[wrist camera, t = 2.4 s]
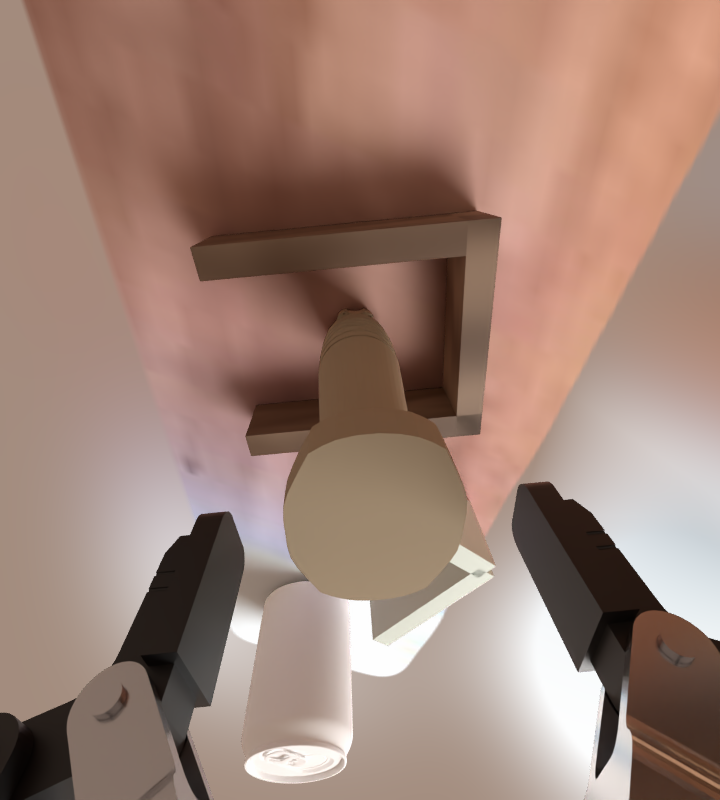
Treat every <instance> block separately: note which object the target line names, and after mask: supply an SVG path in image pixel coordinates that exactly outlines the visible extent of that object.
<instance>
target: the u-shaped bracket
mask: <svg viewBox="0 0 720 800" xmlns="http://www.w3.org/2000/svg"><path fill="white" fill-rule="evenodd" d="M500 228H501V217H497V216H494V215H490V214H487V213H483V212H479V211H471V212H461V213H450V214H440V215H429V216H419V217H408V218H398V219H387V220H377V221H366V222H356V223H345V224H335V225H324V226H314V227H303V228H293V229H282V230H272V231H261V232H251V233H240V234H230V235H219V236H212V237H210V238H208V239H206V240H204V241H202V242H200V243H198V244H196V245H194V246H192V247H190V249H191V252H192V256H193V259H194V262H195V266H196V269H197V273H198V276H199V279H200V281H209V280H219V279H230V278H240V277H251V276H261V275H272V274H282V273H293V272H303V271H314V270H324V269H334V268H345V267H355V266H366V265H376V264H387V263H397V262H408V261H418V260H429V259H439V258H447V278H446V306H445V335H444V364H443V387H441V388H431V389H421V390H410V391H404V394H405V400H406V405H407V410H408V411H410V412H413V413H415V414H417V415H420V416H422V417H424V418H426V419H428V420H430V421H431V422H433V423H435V424H436V426H437V427H438V429H439V431H440V433H441V435H442V437H443V438H446V437H456V436H467V435H477V434H480V429H481V419H482V409H483V399H484V389H485V379H486V369H487V359H488V349H489V339H490V329H491V319H492V309H493V299H494V288H495V278H496V268H497V258H498V248H499V238H500ZM319 422H320V415H319V399H316V400H305V401H295V402H285V403H274V404H264V405H256V408H255V411H254V413H253V416H252V419H251V422H250V425H249V428H248V431H247V433H246V440H247V443H248V447H249V450H250V453H251V456H257V455H268V454H278V453H289V452H299V450H300V448H301V446H302V444H303V442H304V440H305V439H306V437H307V435H308V433H309V431H310V430H311V428H312V427H313V426H314V425H316V424H318V423H319Z"/></svg>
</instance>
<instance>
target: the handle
mask: <svg viewBox="0 0 720 800" xmlns="http://www.w3.org/2000/svg"><path fill="white" fill-rule="evenodd" d="M318 381H319V415H320V422H319V423H318V424H316V425H314V426H313V427H312V428H311V430H310V431H309V433H308V435H307V437H306V439H305V440H304V442H303V444H302V446H301V448H300V450H299V453H298V455H297V457H296V460H295V462H294V464H293V467H292V469H291V472H290V474H289V477H288V480H287V485H286V491H285V499H284V506H283V521H284V528H285V535H286V541H287V547H288V550H289V553H290V557H291V559H292V560H293V562H294V563H295V565H296V566H297V568H298V569H299V570H300V571H301V572H302V573H303V574H304V576H305V577H306V578H307V579H308V580H309V581H310V582H311V583H312V584H313V585H314V586H315V587H316V588H317V589H318V590H319V591H320V593H323V594H326V595H329V596H333V597H337V598H341V599H349V600H382V599H391V598H396V597H401V596H406V595H409V594H412V593H415V592H417V591H420V590H422V589H424V588H427V587H428V586H429V584H430V583H431V582H432V581H433V580H434V579H435V578H436V577H437V576H438V575H439V574H440V572H441V571H442V570H443V569H444V568H445V567H446V566H447V564H448V563H449V562H450V561H451V559H452V558H453V556H454V555H455V553H456V552H457V550H458V547H459V545H460V542H461V539H462V534H463V529H464V524H465V519H466V514H467V497H466V493H465V489H464V486H463V483H462V481H461V478H460V476H459V473H458V471H457V469H456V466H455V464H454V462H453V459H452V457H451V455H450V452H449V450H448V448H447V446H446V444H445V442H444V439H443V437H442V435H441V433H440V431H439V429H438V427H437V426H436V424H435V423H433V422H431V421H430V420H428V419H426V418H424V417H422V416H420V415H417V414H415V413H413V412H410V411H408V410H407V405H406V400H405V394H404V389H403V383H402V377H401V372H400V367H399V363H398V360H397V357H396V354H395V351H394V348H393V346H392V343H391V341H390V339H389V337H388V335H387V334H386V332H385V331H384V329H383V328H382V327H381V325H380V324H379V323H378V322H377V321H376V320H374V319H373V315H372V313H371V312H370V311H369V310H367V309H364V308H363V309H362V310H358V311H351V310H348V309H343V310H342V311H340V312H339V314H338V318H337V320H336V322H334V324H333V325H332V326H331V328H329V330H328V332H327V335H326V337H325V340H324V343H323V347H322V351H321V356H320V364H319V372H318Z"/></svg>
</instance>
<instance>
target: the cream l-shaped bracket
mask: <svg viewBox="0 0 720 800" xmlns="http://www.w3.org/2000/svg"><path fill="white" fill-rule="evenodd" d="M494 567H496V565H495V563H494V560H493V558H492V555H491V553H490V550H489V548H488V545H487V543H486V540H485V538H484V535H483V533H482V530H481V528H480V525H479V523H478V520H477V518H476V515H475V513H474V510H473V508H472V505H471V503H470V501H469V500H467V514H466V519H465V524H464V529H463V534H462V539H461V542H460V545H459V547H458V550H457V552H456V553H455V555H454V556H453V558H452V559H451V561H450V562H449V563H448V564H447V566H446V567H445V568H444V569H443V570H442V571H441V572H440V574H439V575H438V576H437V577H436V578H435V579H434V580H433V581H432V582H431V583H430V584H429V586H428V587H427V588H424V589H422V590H420V591H417V592H415V593H412V594H409V595H406V596H401V597H396V598H391V599H382V600H370V607H371V620H372V633H373V640H375V641H378V642H380V643H382V644H385V645H387V646H388V645H390V644H391V643H393V642H394V641H396V640H398V639H399V638H401V637H402V636H404V635H405V634H407V633H408V632H410V631H411V630H413V629H415V628H416V627H418V626H419V625H421V624H422V623H424V622H425V621H427V620H428V619H430V618H431V617H433V616H435V615H436V614H438V613H439V612H441V611H442V610H444V609H445V608H447V607H448V606H450V605H451V604H453V603H454V602H456V601H458V600H459V599H461V598H462V597H464V596H465V595H467V594H468V593H470V592H472V591H473V590H474V589H476V588H478V587H479V586H481V585H482V584H484V583H485V582H487V581H488V580H490V579H491V578H493V577H494V575H493V572H492V569H493V568H494Z"/></svg>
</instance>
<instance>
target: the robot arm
mask: <svg viewBox="0 0 720 800" xmlns="http://www.w3.org/2000/svg"><path fill="white" fill-rule="evenodd" d="M512 531H513V536H514V540H515V543H516V545H517V547H518V550H519V552H520V553H521V556H522V558H523V560H524V562H525V564H526V566H527V568H528V570H529V572H530V574H531V576H532V578H533V580H534V582H535V584H536V587H537V589H538V591H539V593H540V595H541V597H542V599H543V601H544V603H545V605H546V607H547V609H548V611H549V613H550V615H551V617H552V619H553V622H554V624H555V626H556V628H557V630H558V632H559V634H560V636H561V638H562V640H563V642H564V644H565V646H566V648H567V650H568V652H569V654H570V656H571V658H572V661H573V663H574V665H575V667H576V669H577V671H578V672H587V671H596V673H597V675H598V677H599V679H600V680H601V682H602V684H603V686H602V688H601V694H600V702H599V708H598V717H597V725H596V731H595V740H594V747H593V754H592V762H591V770H590V777H589V782H588V787H587V791H586V795H585V798H584V800H720V641H718V640H714V639H711V638H708V637H707V636H706V635H705V634H704V633H703V632H702V631H700V630H699V629H698V628H697V627H695V626H694V625H693V624H691V623H690V622H688V621H686V620H684V619H683V618H681V617H679V616H676V615H674V614H671V613H668V612H667V611H666V610H665V609H664V608H663V606H662V605H661V604H660V603H659V601H658V600H657V599H656V598H655V596H654V595H653V594H652V592H651V591H650V590H649V588H648V587H647V586H646V585H645V583H644V582H643V580H642V579H641V578H640V576H639V575H638V574H637V572H636V571H635V570H634V569H633V567H632V566H631V565H630V563H629V562H628V561H627V559H626V558H625V557H624V555H623V554H622V553H621V551H620V550H619V549H618V548H616V547H615V543H614V542H613V541H612V539H611V538H610V537H609V535H608V534H605V532H604V529H603V528H602V526H601V525H600V524H599V522H598V521H597V520H596V518H595V517H594V516H593V514H592V513H591V512H589V511H588V510H587V509H585V508H584V507H583V506H581V505H580V504H579V503H577V502H576V501H574V500H573V499H569V500H563V499H562V497H561V496H560V494H559V493H558V491H557V490H556V488H555V487H554V486H553V485H552V484H551V483H550V482H538V483H528V484H520V485H519V487H518V490H517V496H516V502H515V508H514V513H513V519H512ZM243 570H244V549H243V545H242V543H241V540H240V537H239V534H238V531H237V529H236V526H235V523H234V520H233V517H232V515H231V513H230V512H218V513H208V514H201V515H199V516H198V518H197V520H196V522H195V525H194V527H193V529H192V532H191V534H190V535H186V536H180V537H179V539H177V540H176V542H175V543H174V544H173V545H172V546H171V547H170V548H169V549H168V551H167V552H166V553H165V555H164V557H163V559H162V561H161V563H160V565H159V568H158V570H157V572H156V573H157V574H156V576H154V578H153V581H152V583H151V585H150V587H149V592H147V594H146V596H145V598H144V600H143V602H142V604H141V607H140V609H139V611H138V613H137V615H136V617H135V619H134V622H133V624H132V626H131V628H130V630H129V632H128V635H127V637H126V639H125V641H124V643H123V645H122V648H121V650H120V652H119V654H118V656H117V658H116V660H115V661H114V663H113V664H112V666H111V667H108V668H107V669H105V670H104V671H102V672H101V673H99V674H98V675H97V676H95V677H94V678H93V679H92V680H91V681H90V682H89V683H88V684H87V685H86V686H85V688H84V689H83V690H82V691H81V693H80V694H79V695H78V697H77V698H76V699H74V700H72V701H70V702H68V703H65V704H63V705H61V706H58V707H56V708H54V709H52V710H49V711H47V712H45V713H42V714H40V715H38V716H35V717H33V718H31V719H28V720H26V721H24V722H21V721H19V720H18V719H17V718H16V717H15V716H13V715H11V714H9V713H0V800H214V799H213V796H212V793H211V790H210V787H209V785H208V782H207V779H206V776H205V773H204V770H203V768H202V765H201V762H200V759H199V756H198V754H197V751H196V748H195V745H194V742H193V740H192V737H191V734H190V731H189V729H188V727H189V724H190V720H191V716H192V713H193V709H194V708H196V707H206V706H211V702H212V698H213V693H214V690H215V685H216V681H217V677H218V673H219V669H220V665H221V661H222V657H223V653H224V648H225V644H226V640H227V636H228V632H229V628H230V624H231V620H232V615H233V611H234V607H235V603H236V599H237V595H238V591H239V587H240V582H241V578H242V574H243Z"/></svg>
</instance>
